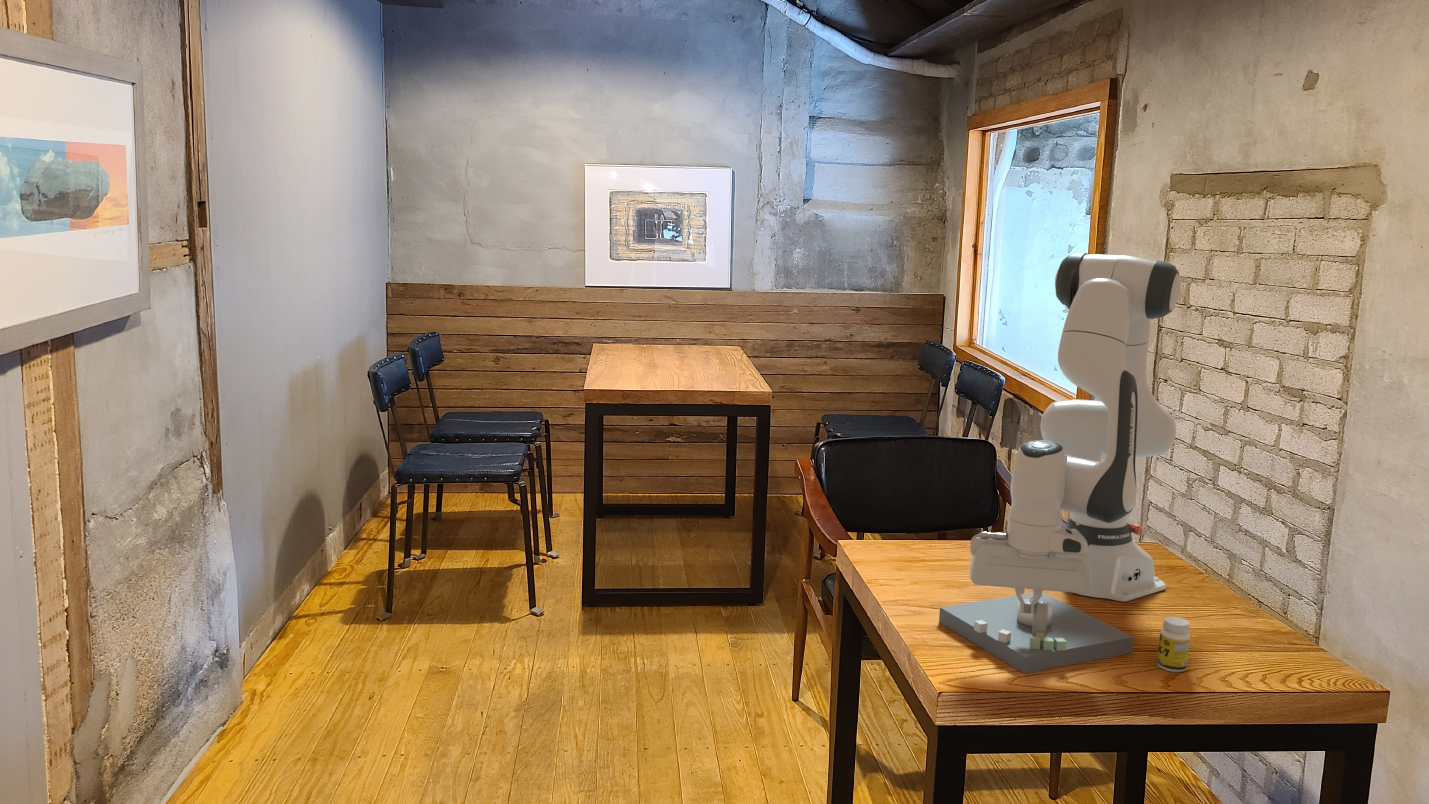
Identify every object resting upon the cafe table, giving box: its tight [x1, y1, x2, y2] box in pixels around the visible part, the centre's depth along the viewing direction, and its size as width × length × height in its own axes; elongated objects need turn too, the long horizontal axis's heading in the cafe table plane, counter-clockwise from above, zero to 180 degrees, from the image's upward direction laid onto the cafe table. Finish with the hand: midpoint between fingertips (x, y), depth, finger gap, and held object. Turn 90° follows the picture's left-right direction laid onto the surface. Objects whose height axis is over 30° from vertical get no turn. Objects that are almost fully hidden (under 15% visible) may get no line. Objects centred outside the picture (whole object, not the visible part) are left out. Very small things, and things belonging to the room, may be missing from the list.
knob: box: [1017, 599, 1053, 641], centre depth 195 cm, size 13×6×6 cm, turn 169°
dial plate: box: [938, 591, 1134, 675], centre depth 199 cm, size 25×24×5 cm
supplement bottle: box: [1156, 616, 1191, 673], centre depth 187 cm, size 5×5×8 cm
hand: (1026, 612), depth 190 cm, fingers closed
